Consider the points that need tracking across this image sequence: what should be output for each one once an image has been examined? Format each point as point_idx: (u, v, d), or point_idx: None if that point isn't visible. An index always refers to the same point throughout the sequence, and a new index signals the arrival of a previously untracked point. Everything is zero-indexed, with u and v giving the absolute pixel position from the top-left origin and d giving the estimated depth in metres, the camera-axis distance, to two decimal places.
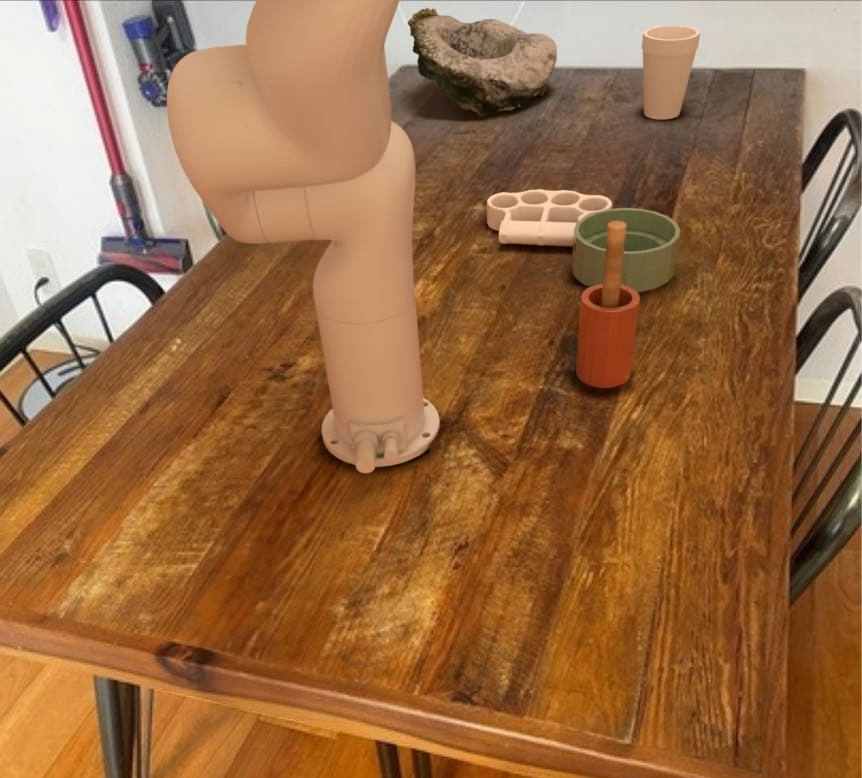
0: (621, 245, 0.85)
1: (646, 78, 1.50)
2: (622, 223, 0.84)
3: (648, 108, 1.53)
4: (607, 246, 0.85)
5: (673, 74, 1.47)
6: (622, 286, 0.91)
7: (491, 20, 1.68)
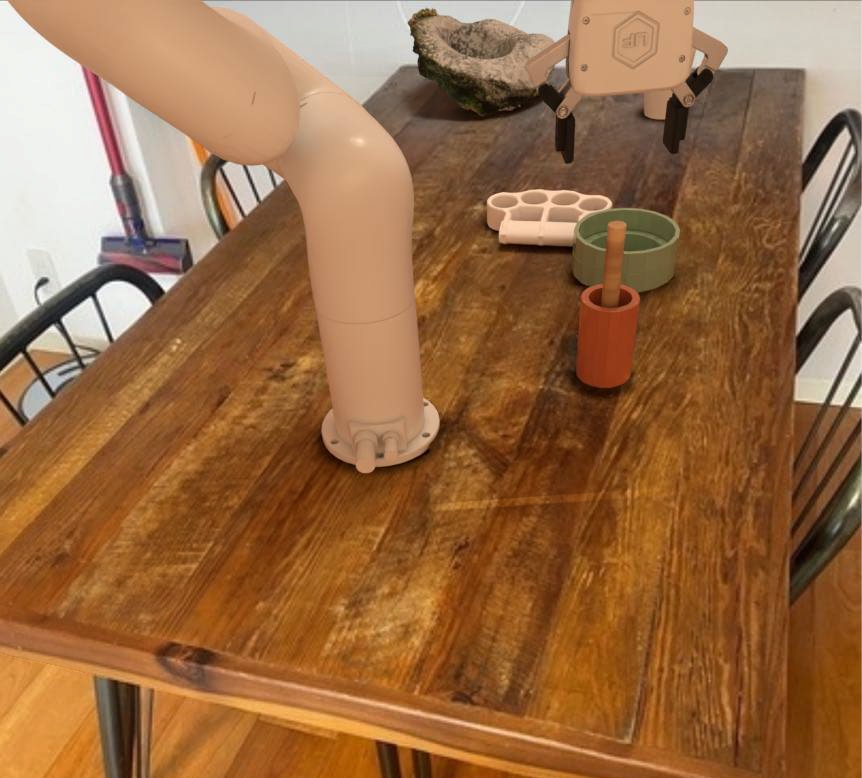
0: (621, 245, 0.85)
1: None
2: (622, 223, 0.84)
3: (648, 108, 1.53)
4: (607, 246, 0.85)
5: None
6: (622, 286, 0.91)
7: (491, 20, 1.68)
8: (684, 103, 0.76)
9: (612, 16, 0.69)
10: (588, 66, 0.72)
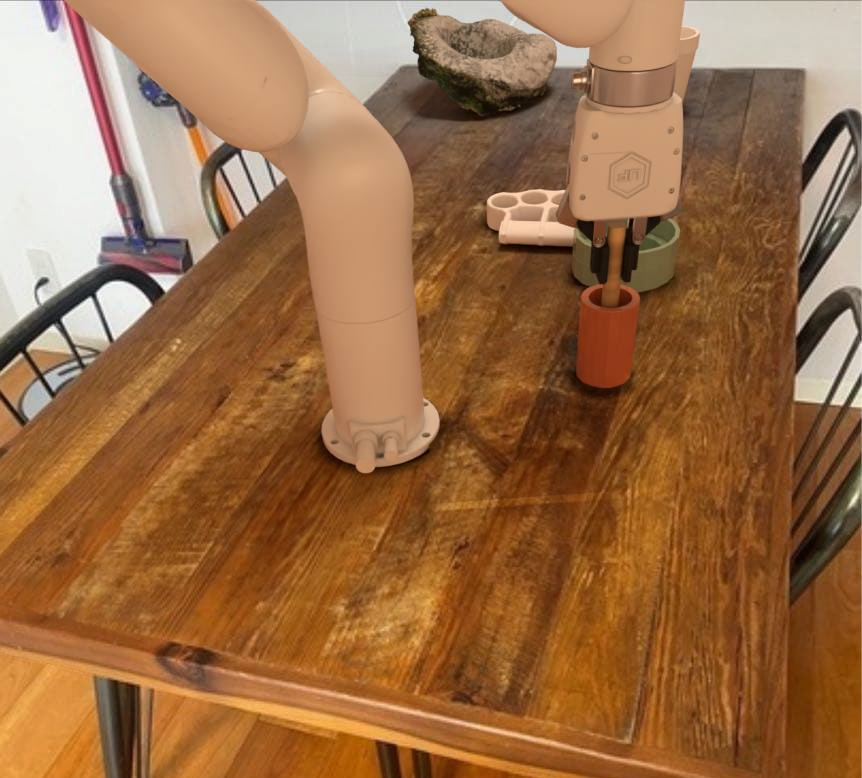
0: (621, 245, 0.84)
1: None
2: (622, 223, 0.84)
3: None
4: None
5: None
6: (622, 286, 0.91)
7: (491, 20, 1.68)
8: (635, 241, 0.84)
9: (608, 155, 0.77)
10: (586, 196, 0.79)
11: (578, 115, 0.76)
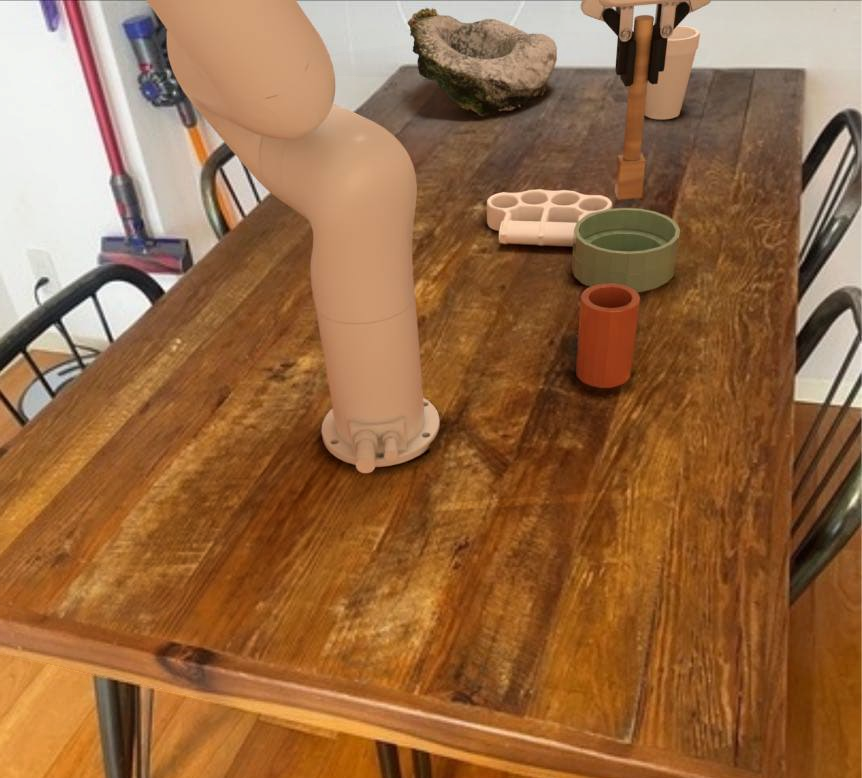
0: (647, 40, 0.82)
1: None
2: (649, 16, 0.81)
3: (648, 108, 1.53)
4: None
5: (673, 74, 1.47)
6: (622, 286, 0.91)
7: (491, 20, 1.68)
8: (663, 34, 0.81)
9: None
10: None
11: None
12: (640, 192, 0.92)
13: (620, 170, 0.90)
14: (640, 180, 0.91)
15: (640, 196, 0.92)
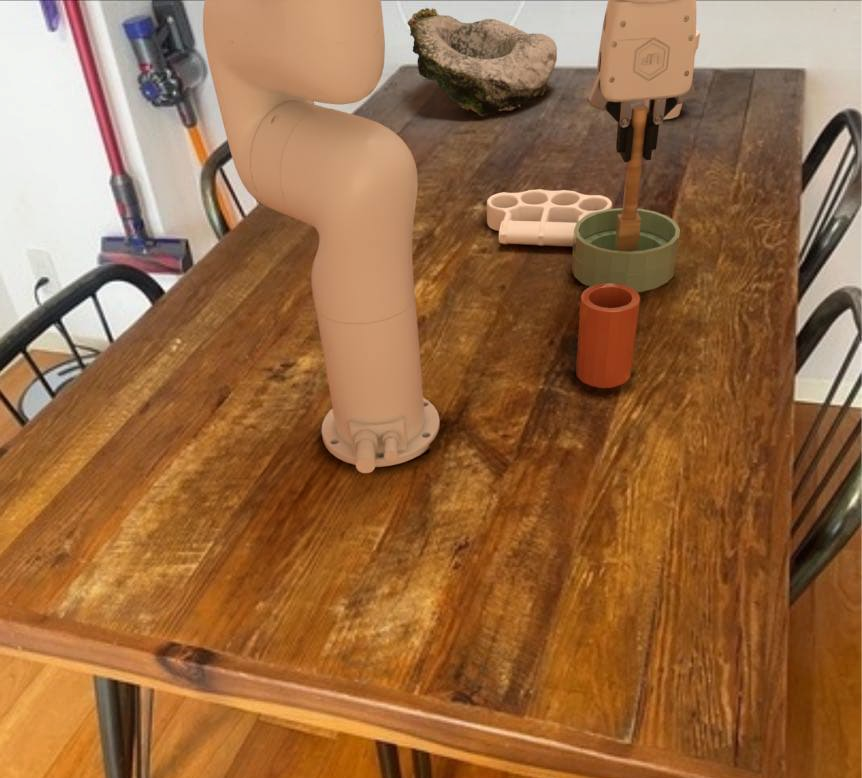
0: (643, 126, 1.00)
1: None
2: (644, 106, 0.99)
3: None
4: None
5: None
6: (622, 286, 0.91)
7: (491, 20, 1.68)
8: (655, 121, 0.99)
9: (634, 41, 0.92)
10: (615, 78, 0.94)
11: (609, 7, 0.91)
12: (636, 245, 1.10)
13: (620, 227, 1.08)
14: (636, 235, 1.09)
15: (636, 248, 1.10)
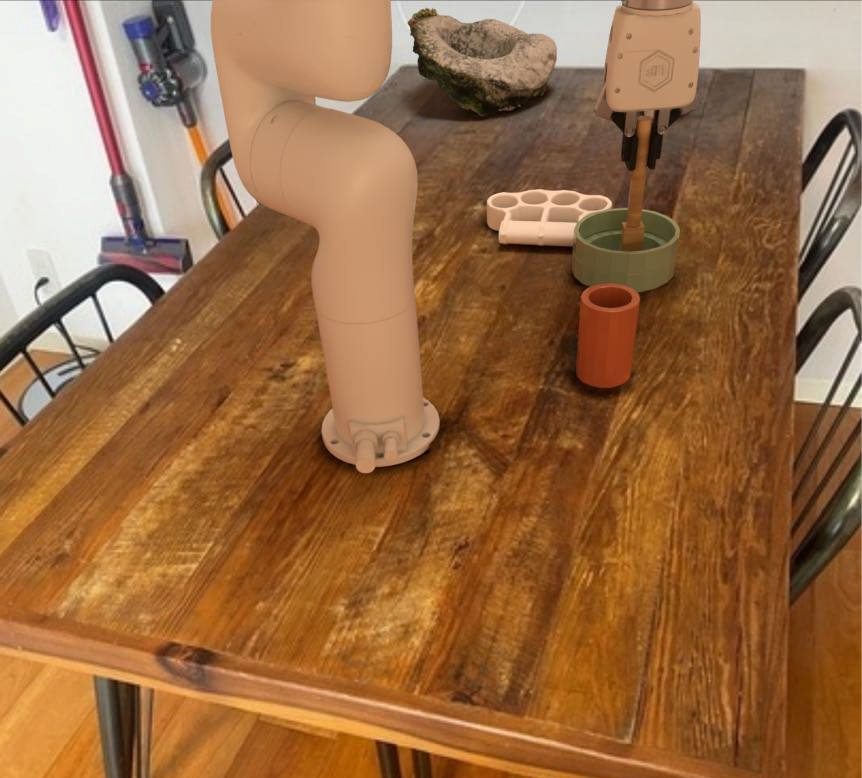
0: (647, 135, 1.02)
1: None
2: (649, 117, 1.01)
3: None
4: None
5: None
6: (622, 286, 0.91)
7: (491, 20, 1.68)
8: (659, 132, 1.01)
9: (639, 53, 0.94)
10: (620, 89, 0.96)
11: (615, 19, 0.93)
12: None
13: (624, 235, 1.10)
14: (640, 243, 1.11)
15: None
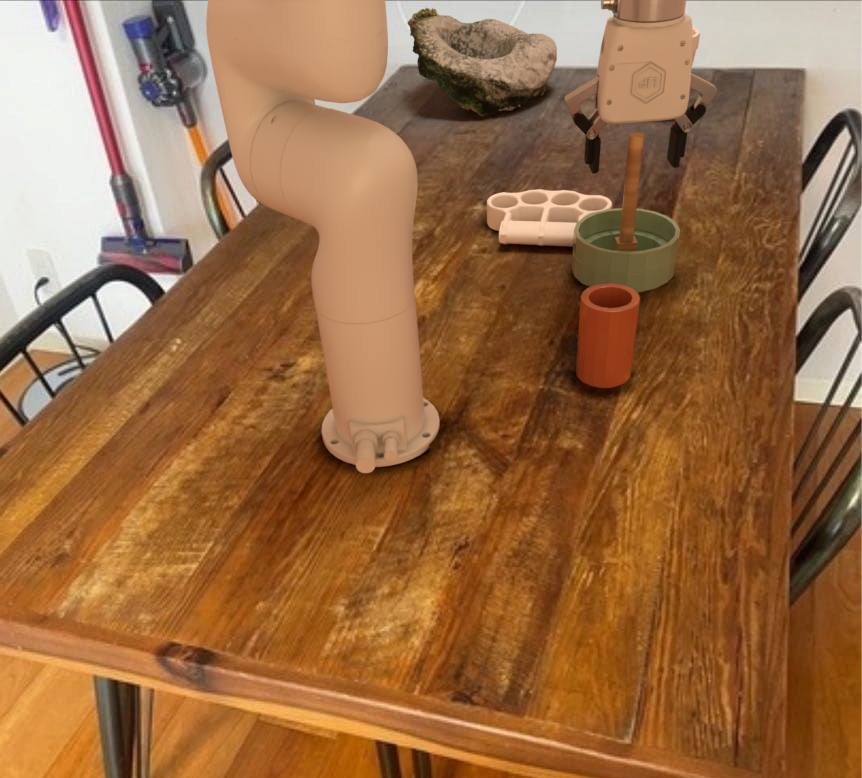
0: (640, 152, 1.02)
1: None
2: (641, 133, 1.01)
3: None
4: (628, 153, 1.02)
5: None
6: (622, 286, 0.91)
7: (491, 20, 1.68)
8: (684, 129, 1.00)
9: (631, 65, 0.93)
10: (612, 101, 0.96)
11: (606, 31, 0.93)
12: None
13: (617, 250, 1.10)
14: None
15: None
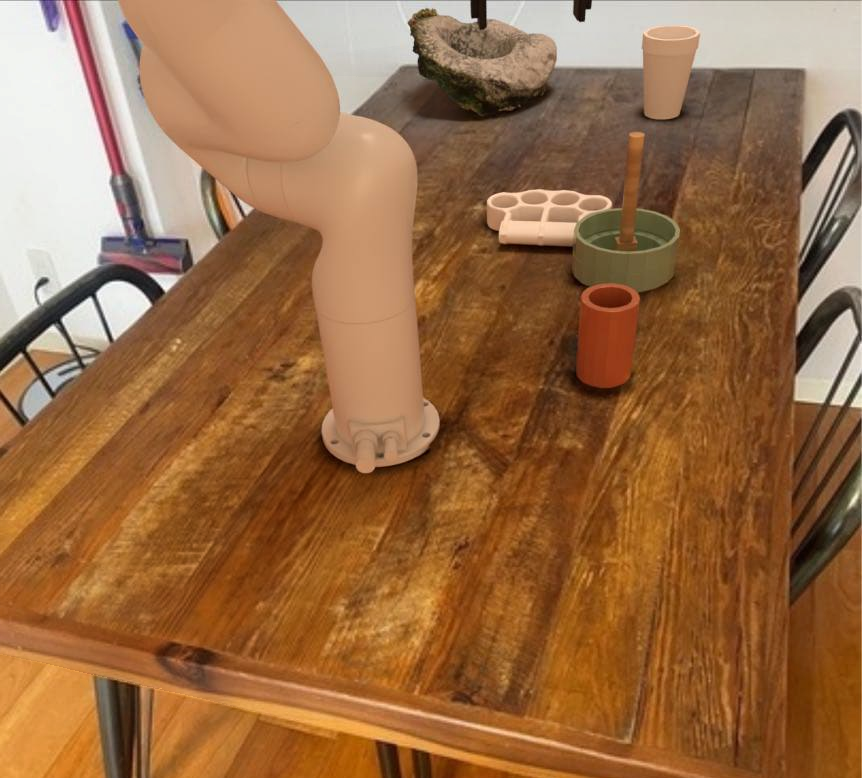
0: (640, 152, 1.02)
1: (646, 78, 1.50)
2: (641, 133, 1.01)
3: (648, 108, 1.53)
4: (628, 153, 1.02)
5: (673, 74, 1.47)
6: (622, 286, 0.91)
7: (491, 20, 1.68)
8: None
9: None
10: None
11: None
12: None
13: (617, 250, 1.10)
14: None
15: None
